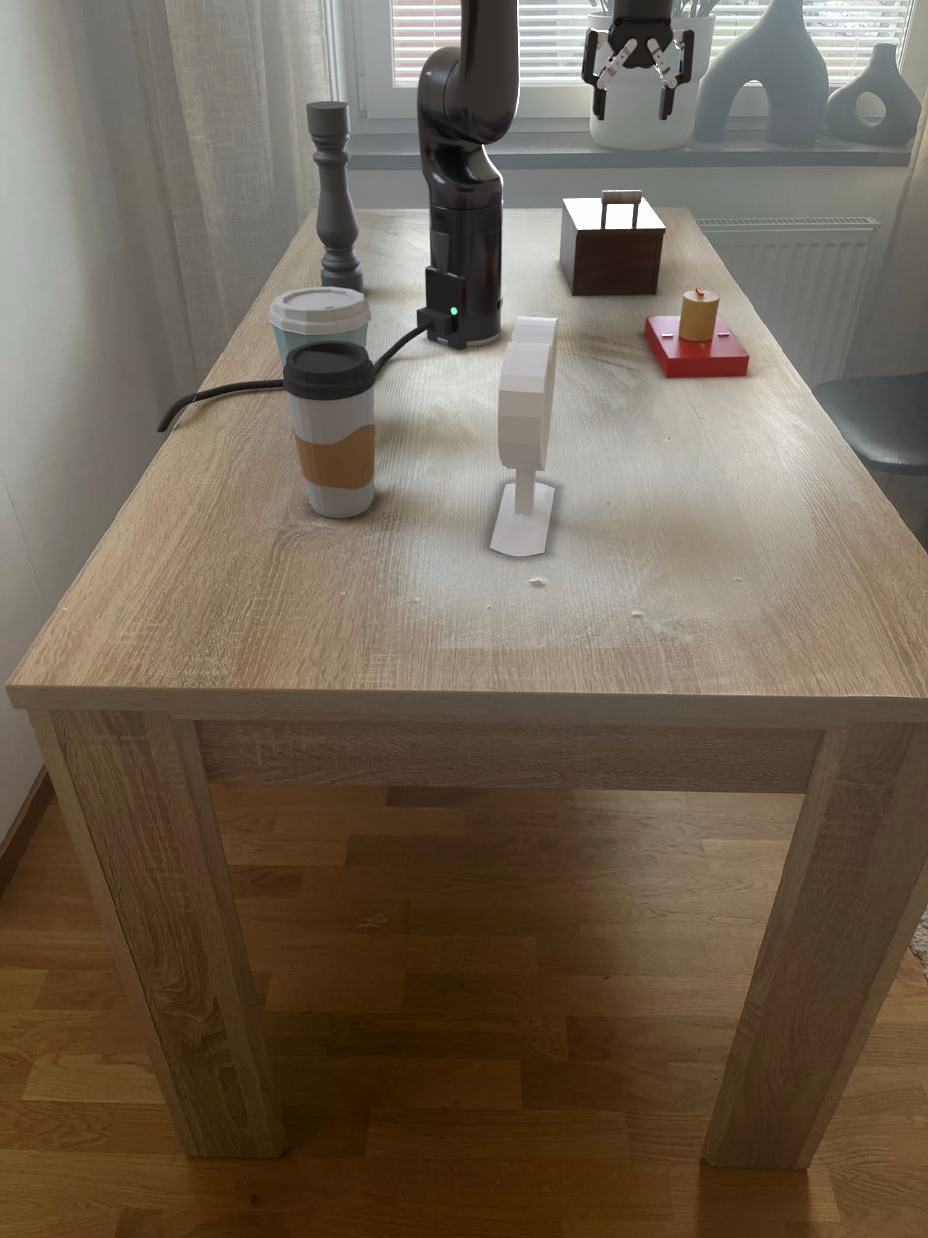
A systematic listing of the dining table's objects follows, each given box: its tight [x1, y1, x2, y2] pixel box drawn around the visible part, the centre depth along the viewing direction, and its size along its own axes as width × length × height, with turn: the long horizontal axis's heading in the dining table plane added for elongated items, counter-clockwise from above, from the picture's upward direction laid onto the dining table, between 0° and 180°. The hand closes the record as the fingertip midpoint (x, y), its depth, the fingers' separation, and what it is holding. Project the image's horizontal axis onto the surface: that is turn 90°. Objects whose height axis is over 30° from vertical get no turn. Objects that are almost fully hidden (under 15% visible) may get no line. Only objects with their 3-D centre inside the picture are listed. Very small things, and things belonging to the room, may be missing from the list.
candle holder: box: [305, 100, 365, 295], centre depth 130 cm, size 6×6×25 cm
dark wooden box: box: [558, 205, 665, 297], centre depth 140 cm, size 16×13×9 cm
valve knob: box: [678, 287, 721, 342], centre depth 116 cm, size 4×4×5 cm
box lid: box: [562, 189, 667, 235], centre depth 135 cm, size 16×13×5 cm
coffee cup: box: [282, 341, 377, 519], centre depth 86 cm, size 8×8×15 cm
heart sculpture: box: [489, 315, 559, 558], centre depth 83 cm, size 16×5×18 cm, turn 171°
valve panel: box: [643, 314, 751, 378], centre depth 118 cm, size 14×10×3 cm
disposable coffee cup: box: [268, 286, 372, 369], centre depth 99 cm, size 11×11×15 cm
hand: (631, 119), depth 125 cm, fingers open, 8 cm apart
